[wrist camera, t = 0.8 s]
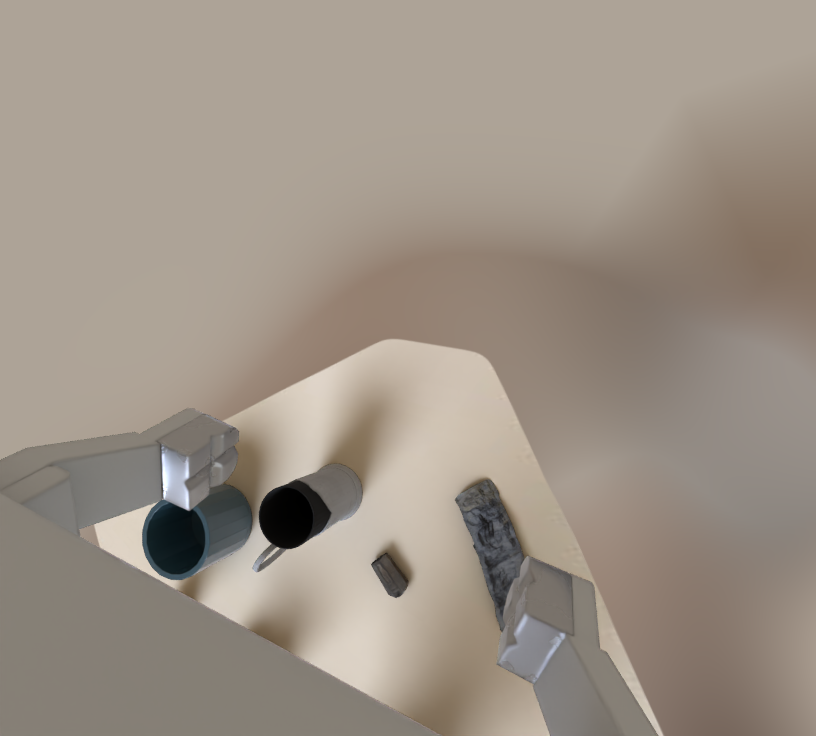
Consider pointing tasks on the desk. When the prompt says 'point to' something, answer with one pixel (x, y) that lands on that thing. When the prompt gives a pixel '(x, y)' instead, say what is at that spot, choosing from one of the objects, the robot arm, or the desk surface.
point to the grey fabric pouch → (492, 541)
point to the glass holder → (307, 508)
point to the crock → (196, 532)
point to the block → (390, 575)
